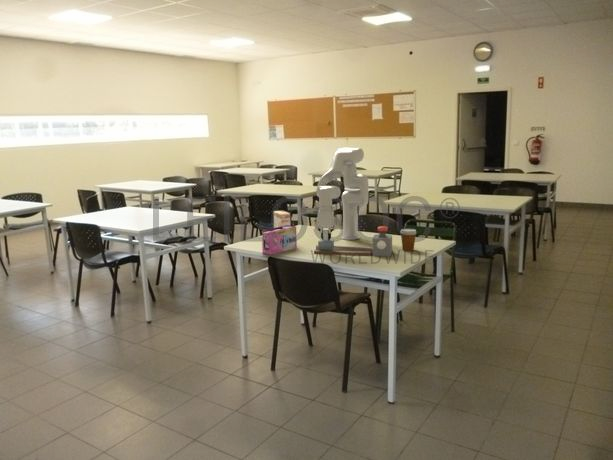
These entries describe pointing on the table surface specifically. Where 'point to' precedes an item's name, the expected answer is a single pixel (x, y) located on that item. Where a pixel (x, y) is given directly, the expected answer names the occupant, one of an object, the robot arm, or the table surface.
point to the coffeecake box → (281, 218)
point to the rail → (346, 250)
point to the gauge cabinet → (382, 245)
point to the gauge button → (382, 231)
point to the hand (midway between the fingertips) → (326, 239)
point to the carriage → (325, 241)
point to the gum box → (279, 239)
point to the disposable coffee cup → (408, 239)
